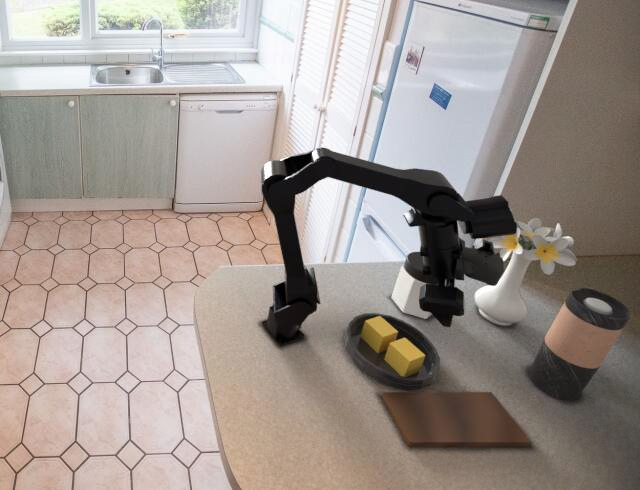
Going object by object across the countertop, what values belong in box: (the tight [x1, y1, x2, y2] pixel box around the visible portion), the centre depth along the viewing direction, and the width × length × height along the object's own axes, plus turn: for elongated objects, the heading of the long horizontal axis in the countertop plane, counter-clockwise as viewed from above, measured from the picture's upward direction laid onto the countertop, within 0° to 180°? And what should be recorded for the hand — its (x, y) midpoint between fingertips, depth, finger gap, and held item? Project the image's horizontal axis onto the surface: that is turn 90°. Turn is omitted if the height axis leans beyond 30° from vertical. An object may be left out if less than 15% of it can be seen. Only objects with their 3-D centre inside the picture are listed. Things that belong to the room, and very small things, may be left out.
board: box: [380, 391, 532, 448], centre depth 78 cm, size 20×9×1 cm, turn 90°
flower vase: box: [473, 217, 579, 327], centre depth 96 cm, size 13×18×25 cm
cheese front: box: [384, 338, 426, 377], centre depth 87 cm, size 4×4×4 cm
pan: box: [343, 312, 441, 391], centre depth 90 cm, size 16×16×3 cm
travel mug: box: [528, 287, 631, 401], centre depth 81 cm, size 8×8×20 cm
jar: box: [391, 251, 438, 320], centre depth 101 cm, size 9×8×12 cm
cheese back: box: [360, 316, 398, 353], centre depth 92 cm, size 4×4×4 cm
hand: (447, 308), depth 85 cm, fingers open, 9 cm apart
